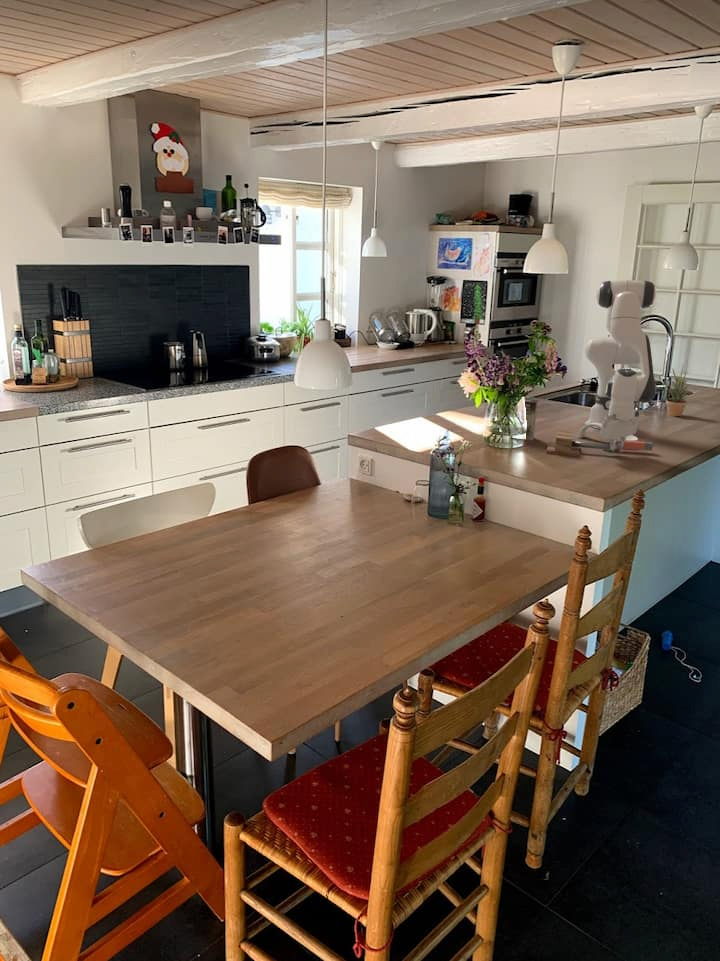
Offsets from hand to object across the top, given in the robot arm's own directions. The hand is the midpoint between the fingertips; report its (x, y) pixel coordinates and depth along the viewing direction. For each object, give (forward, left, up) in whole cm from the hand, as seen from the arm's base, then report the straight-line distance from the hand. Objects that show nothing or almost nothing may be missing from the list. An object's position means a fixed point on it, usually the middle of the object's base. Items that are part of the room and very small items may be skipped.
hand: (616, 448), depth 289 cm
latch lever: (-9, +7, -2) cm, 11 cm away
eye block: (0, -19, -3) cm, 20 cm away
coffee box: (-14, -36, -3) cm, 39 cm away
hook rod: (0, -10, -1) cm, 10 cm away
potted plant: (-89, +30, -3) cm, 94 cm away
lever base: (-8, -1, -3) cm, 8 cm away
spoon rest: (-21, -3, -3) cm, 22 cm away
